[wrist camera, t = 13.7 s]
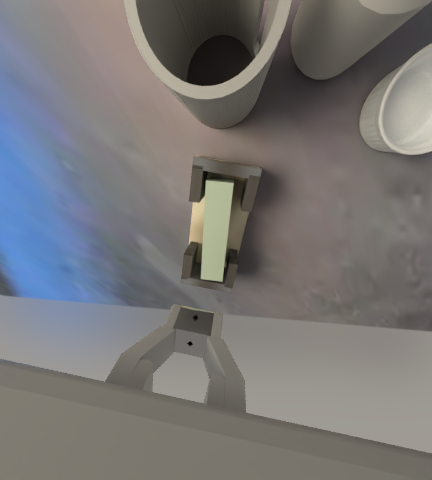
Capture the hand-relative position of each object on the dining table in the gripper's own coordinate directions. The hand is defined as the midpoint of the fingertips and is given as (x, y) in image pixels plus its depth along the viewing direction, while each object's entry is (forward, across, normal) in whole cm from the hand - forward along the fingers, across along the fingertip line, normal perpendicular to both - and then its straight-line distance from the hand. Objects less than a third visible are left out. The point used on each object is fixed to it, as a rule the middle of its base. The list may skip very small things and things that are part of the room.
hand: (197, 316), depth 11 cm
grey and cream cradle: (+18, 0, 0) cm, 18 cm away
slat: (+17, 0, 0) cm, 17 cm away
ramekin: (+19, -17, -16) cm, 30 cm away
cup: (+18, +3, -16) cm, 25 cm away
